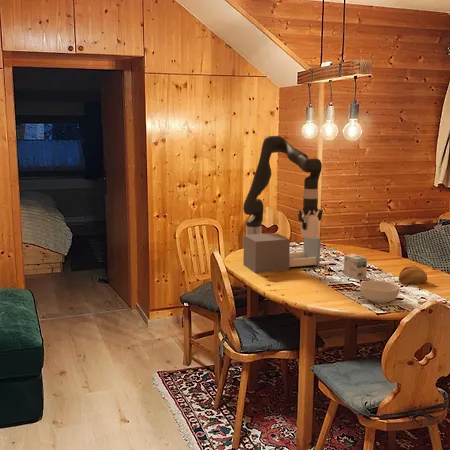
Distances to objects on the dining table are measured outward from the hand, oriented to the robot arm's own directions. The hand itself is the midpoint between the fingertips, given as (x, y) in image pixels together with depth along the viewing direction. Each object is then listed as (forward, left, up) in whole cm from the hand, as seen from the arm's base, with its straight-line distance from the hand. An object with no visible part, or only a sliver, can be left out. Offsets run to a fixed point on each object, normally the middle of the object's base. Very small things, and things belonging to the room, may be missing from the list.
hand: (309, 229), depth 286 cm
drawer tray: (-15, 0, -23) cm, 27 cm away
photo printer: (0, 0, -5) cm, 5 cm away
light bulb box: (+15, +19, -23) cm, 34 cm away
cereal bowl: (+53, +8, -23) cm, 59 cm away
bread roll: (+34, +40, -24) cm, 58 cm away
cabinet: (-15, -18, -23) cm, 33 cm away
